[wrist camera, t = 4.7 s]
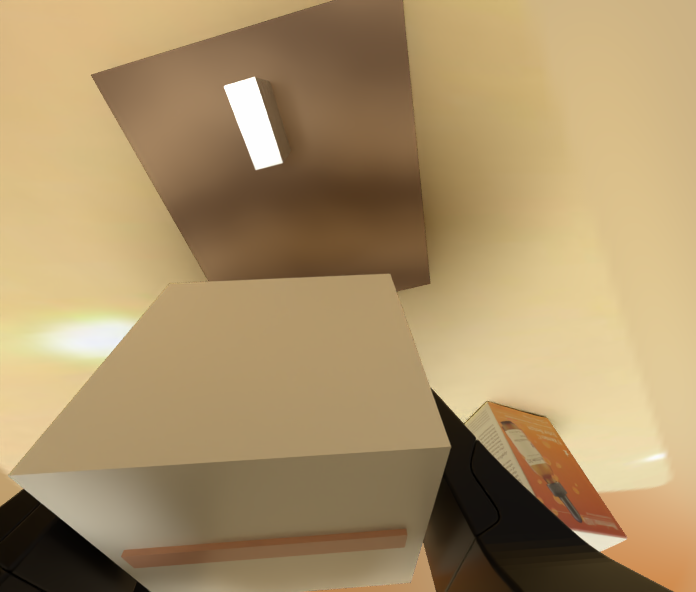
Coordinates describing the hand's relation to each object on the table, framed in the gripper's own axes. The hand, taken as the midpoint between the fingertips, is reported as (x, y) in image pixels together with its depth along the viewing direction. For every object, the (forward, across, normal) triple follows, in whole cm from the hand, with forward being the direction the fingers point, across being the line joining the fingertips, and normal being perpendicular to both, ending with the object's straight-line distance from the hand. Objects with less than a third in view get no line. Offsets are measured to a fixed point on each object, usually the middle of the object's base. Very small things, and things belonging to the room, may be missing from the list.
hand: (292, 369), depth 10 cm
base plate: (+12, +1, -2) cm, 12 cm away
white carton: (0, 0, 0) cm, 0 cm away
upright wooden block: (+11, +1, -6) cm, 12 cm away
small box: (+12, -18, +22) cm, 31 cm away
